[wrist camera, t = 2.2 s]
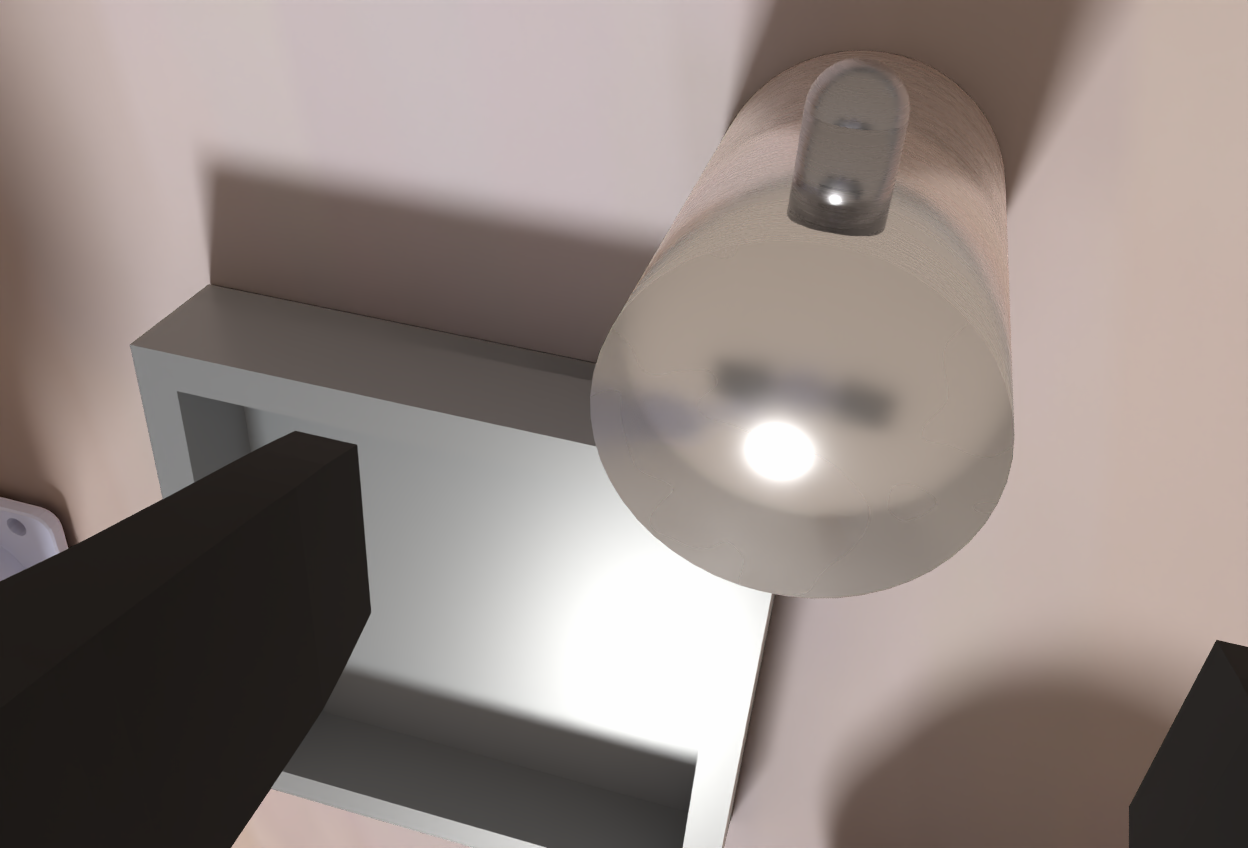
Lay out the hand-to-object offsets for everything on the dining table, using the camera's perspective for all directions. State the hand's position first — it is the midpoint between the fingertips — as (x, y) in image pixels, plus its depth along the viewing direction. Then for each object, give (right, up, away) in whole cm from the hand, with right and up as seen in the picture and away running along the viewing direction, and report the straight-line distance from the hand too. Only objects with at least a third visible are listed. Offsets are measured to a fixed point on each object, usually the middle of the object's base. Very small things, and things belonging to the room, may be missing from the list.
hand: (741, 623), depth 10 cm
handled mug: (+3, +5, +8) cm, 10 cm away
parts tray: (-4, -2, +15) cm, 15 cm away
